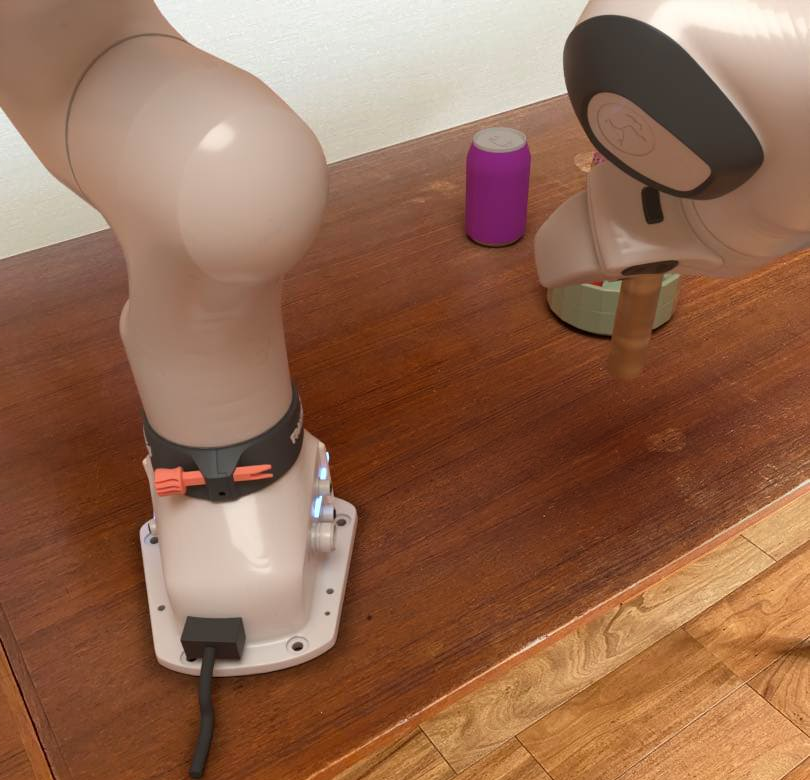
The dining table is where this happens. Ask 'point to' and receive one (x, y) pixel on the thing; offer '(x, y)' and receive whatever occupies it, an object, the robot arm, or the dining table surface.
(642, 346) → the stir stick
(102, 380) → the dining table surface
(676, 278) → the bowl
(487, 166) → the beverage can
